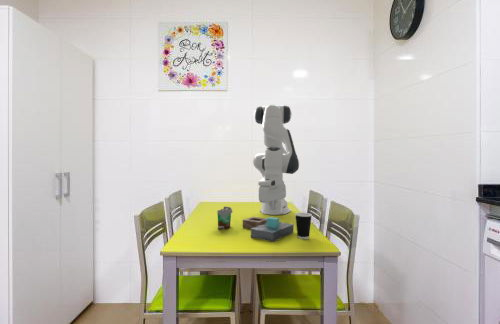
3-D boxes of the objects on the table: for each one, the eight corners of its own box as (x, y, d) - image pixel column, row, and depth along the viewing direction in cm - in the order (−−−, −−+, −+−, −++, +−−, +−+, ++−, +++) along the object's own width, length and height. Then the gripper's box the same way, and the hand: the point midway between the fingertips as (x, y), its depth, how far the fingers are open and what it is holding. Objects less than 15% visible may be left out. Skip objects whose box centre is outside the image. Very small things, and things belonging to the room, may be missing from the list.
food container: (228, 230, 156) (228, 211, 155) (217, 230, 157) (217, 210, 157) (234, 225, 168) (235, 206, 167) (224, 224, 169) (224, 206, 169)
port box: (272, 228, 160) (272, 220, 160) (293, 232, 154) (293, 223, 154) (250, 237, 144) (250, 227, 144) (273, 241, 137) (273, 231, 137)
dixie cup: (292, 235, 147) (292, 212, 147) (307, 234, 149) (307, 212, 149) (298, 240, 139) (299, 216, 139) (314, 239, 141) (315, 215, 141)
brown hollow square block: (253, 223, 171) (253, 216, 171) (268, 226, 165) (268, 219, 165) (242, 227, 163) (242, 219, 162) (258, 230, 157) (258, 222, 157)
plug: (269, 233, 152) (270, 217, 151) (278, 234, 149) (279, 218, 148) (266, 234, 149) (266, 218, 149) (275, 236, 146) (276, 219, 146)
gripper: (278, 179, 158) (277, 205, 159) (256, 182, 141) (256, 212, 142) (289, 179, 155) (288, 207, 155) (268, 182, 138) (267, 213, 138)
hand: (273, 209), depth 148 cm, fingers closed
